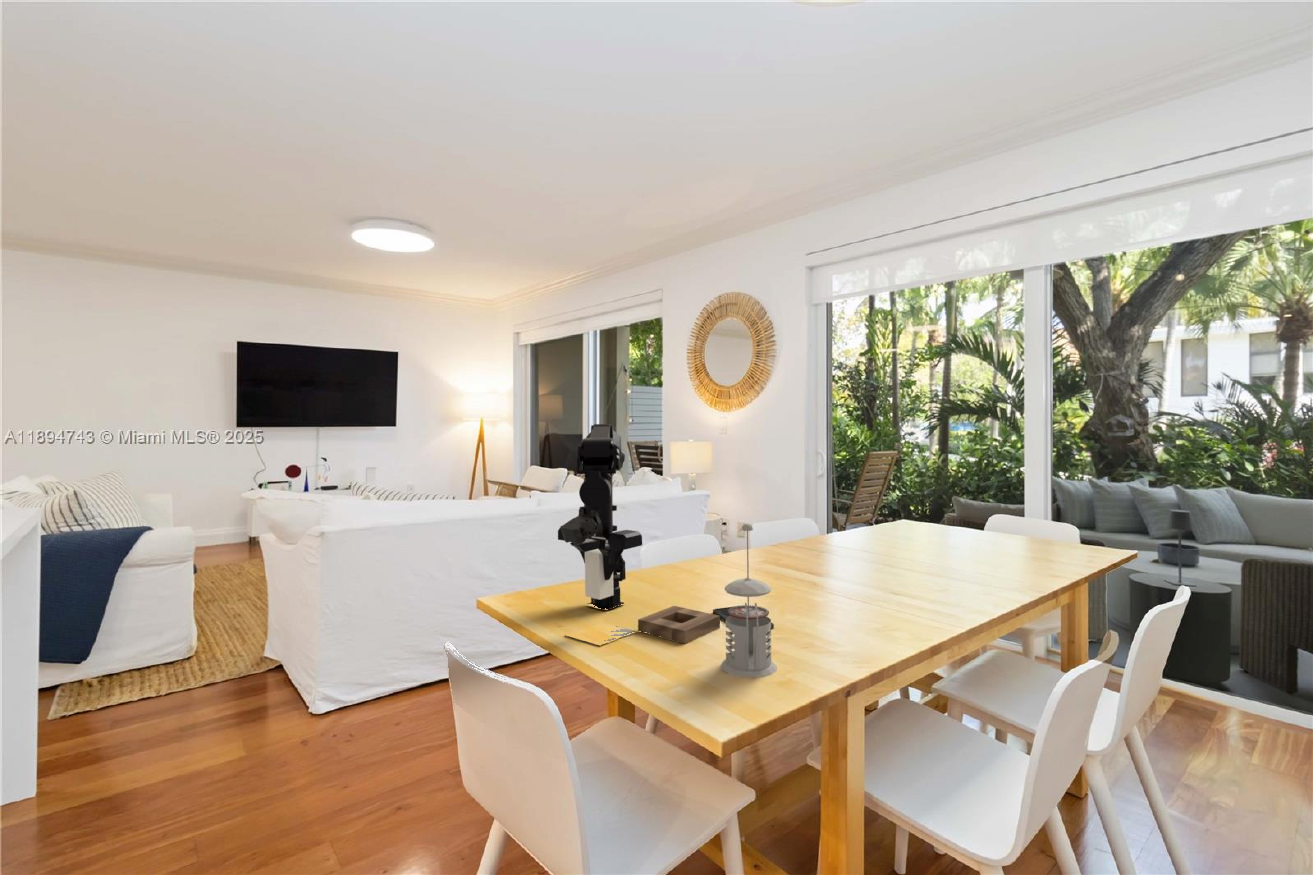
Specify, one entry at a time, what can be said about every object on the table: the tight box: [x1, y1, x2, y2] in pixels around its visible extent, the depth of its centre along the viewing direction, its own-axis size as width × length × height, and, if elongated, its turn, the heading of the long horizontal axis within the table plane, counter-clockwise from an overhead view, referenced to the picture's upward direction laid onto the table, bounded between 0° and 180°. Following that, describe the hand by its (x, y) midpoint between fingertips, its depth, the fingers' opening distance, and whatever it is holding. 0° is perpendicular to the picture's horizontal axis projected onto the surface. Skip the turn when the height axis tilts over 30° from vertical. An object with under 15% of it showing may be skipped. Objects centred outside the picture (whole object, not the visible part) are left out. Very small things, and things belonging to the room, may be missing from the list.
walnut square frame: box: [637, 605, 721, 645], centre depth 130 cm, size 12×12×2 cm
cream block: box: [584, 549, 614, 600], centre depth 128 cm, size 4×4×9 cm
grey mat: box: [604, 625, 636, 641], centre depth 128 cm, size 10×10×1 cm
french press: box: [720, 523, 778, 679], centre depth 109 cm, size 10×12×25 cm
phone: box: [712, 606, 775, 630], centre depth 136 cm, size 8×1×15 cm
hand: (599, 578), depth 128 cm, fingers closed on cream block, 4 cm apart
